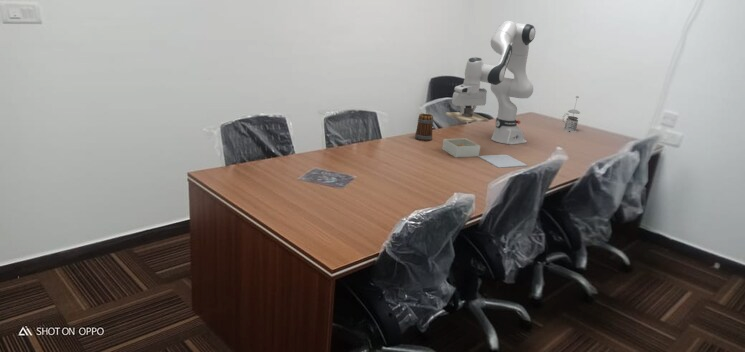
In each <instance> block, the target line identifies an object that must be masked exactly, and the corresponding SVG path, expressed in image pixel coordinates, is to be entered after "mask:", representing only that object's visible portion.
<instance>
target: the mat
mask: <svg viewBox="0 0 745 352" xmlns="http://www.w3.org/2000/svg"><path fill="white" fill-rule="evenodd" d="M477 157H478V158H480V159H481V160H483V161H485V162H487V163H489V164H491V165H492V166H494V167H495V168H498V169H504V168H505V169H506V168H519V167H520V168H521V167H528V164H526V163H524V162H523V161H520V160H518V159H516V158H514V157H512V156H510V155H508V154H507V153H506V154H492V155H490V154H489V155H487V154H486V155H479V156H477Z"/></svg>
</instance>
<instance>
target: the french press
mask: <svg viewBox="0 0 745 352" xmlns="http://www.w3.org/2000/svg"><path fill="white" fill-rule="evenodd" d="M575 98H576V101H575V102H577V101H578V99H579V98H580V96H578V95H576V96H575ZM576 105H577V103H575V105H574V107H576ZM569 113H571V114H572V115H570V114H569ZM574 114H581V112H580V111H579V110H577V109H575V108H574V109H569V110H567V113H566V112H565V114H564V115H563V116H562V122H563V123H565V124H564V128H563V129H564V130H567V131H573V132H572V133H576V132H575V131H577V126H578V123H579V117H578V116H574ZM565 116H567V118H566V120H565ZM564 130H563V131H564ZM567 131H566V132H567Z"/></svg>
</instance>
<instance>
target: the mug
mask: <svg viewBox="0 0 745 352" xmlns="http://www.w3.org/2000/svg"><path fill="white" fill-rule="evenodd" d="M433 123H434V115H433V114H431V113H429V112H426V113H419V115H418V118H417V126H416V130H415V131H416V132H415V135H414V138H415V140H418V141H420V142H431V141H432V140H433V129H434V128H433V127H434V125H433Z"/></svg>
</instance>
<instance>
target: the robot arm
mask: <svg viewBox="0 0 745 352" xmlns="http://www.w3.org/2000/svg"><path fill="white" fill-rule="evenodd" d="M535 37H536V27H535V25H533V24H529V23H523V22H515V21H512V20H505V21H504V22H502V23H501V24H500V25H499V26H498V28H497V29H496V30H495V32H494V33H493V35H492V36H491V39H490V46H491V48H492V50H493V51H494V52H495V53H497V54H499V55H500V58H499V60H498V63H497V64H493V65H492V64H487V63H484V62H483V59H482V58H481V57H476V56H475V57H470V58H468V59H467V62H466V65H465V71H464V79H463V83H462V84H459V85H456V86H455V87H454V89H453V92H452V93H453V94H452V98H451V104H452V105H453V106H455V107H457V106H458V107H460V110H461V113H462V114H465V112H466V111H465V110H464V108H466V107H471V106H472V108H471V109H473V113H475V110H476V109H477V107H478V106H485V105H486V104H487V94H488V93H487V92H488V91H487V89H486V88H483V87H482V88H480V87H481V82H482V83H487V84H489V85H490V91H491V93H492V94H493V95H494V96H495V97H496V100H497V103H498V109H497V117H496V118H495V119H496V120H495V128H494V130H493V133H492V136H491V138H490V140H491V141H493V142H496V143H498V144H499V143H501V144H507V145H511V146H512V145H519V144H526V143H527V140H526V139H525V138H524V136H525V135H524V132H523V130H522V129H521V128H520V127H519V126H518V125H520V124H521V121H520V120H518V119H517V118H516V117H517V113H518V107H517V106H516V104H515V103H514V102H512V101H511V99H510V98H514V99H529V98H530V97H531V96H532V95H533V92H534V85H533V84H532V82H531V81H530V80H529V79H528V76H527V73H526V72H527V71H526V69H527V61H528V58H529V57H528V55H529V48H530V47H529V46H530V43H532V42H533V40H534V39H535ZM506 70H508V71H509V72H510V73H511V74H513V78H510V77H505V74H506ZM516 119H517V120H516ZM517 124H518V125H517Z"/></svg>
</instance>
